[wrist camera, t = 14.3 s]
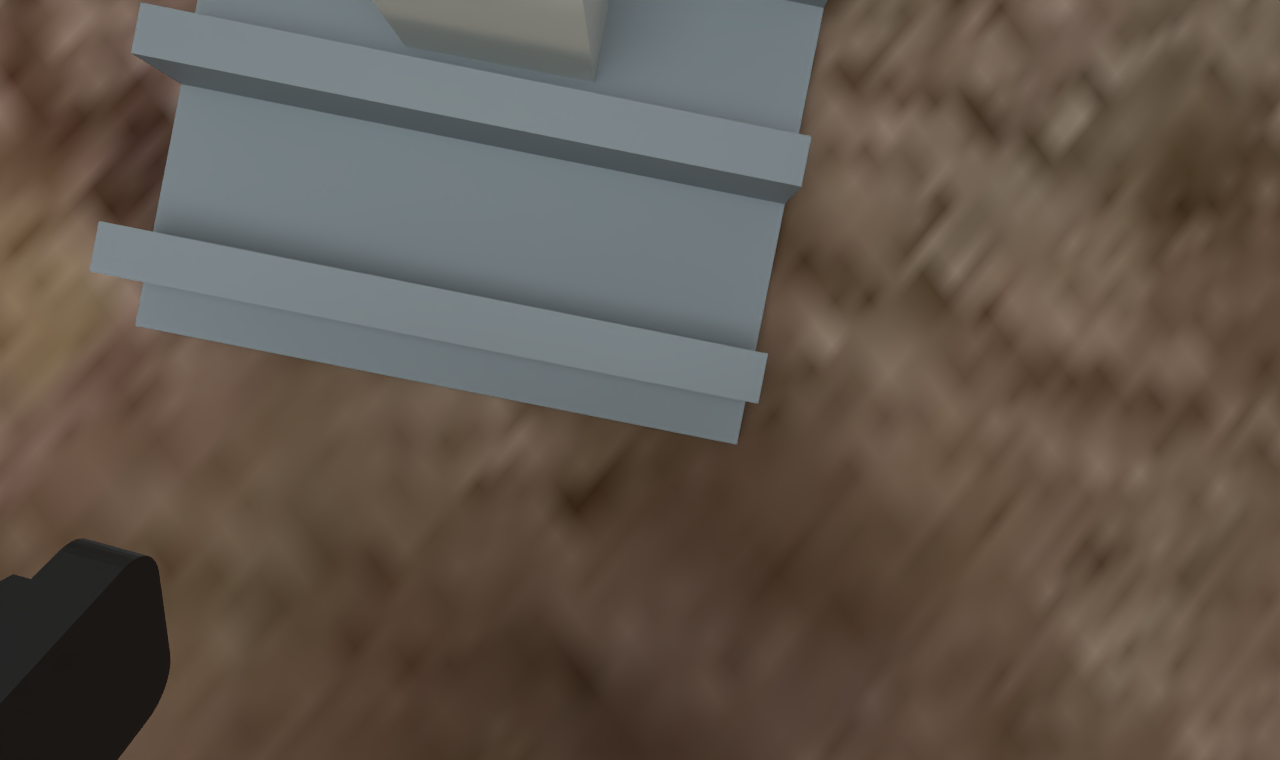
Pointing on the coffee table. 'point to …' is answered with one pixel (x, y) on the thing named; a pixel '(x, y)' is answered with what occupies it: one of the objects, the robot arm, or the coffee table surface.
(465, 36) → the off-white rectangular block
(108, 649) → the robot arm
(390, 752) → the coffee table surface
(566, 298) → the ribbed grey platform
